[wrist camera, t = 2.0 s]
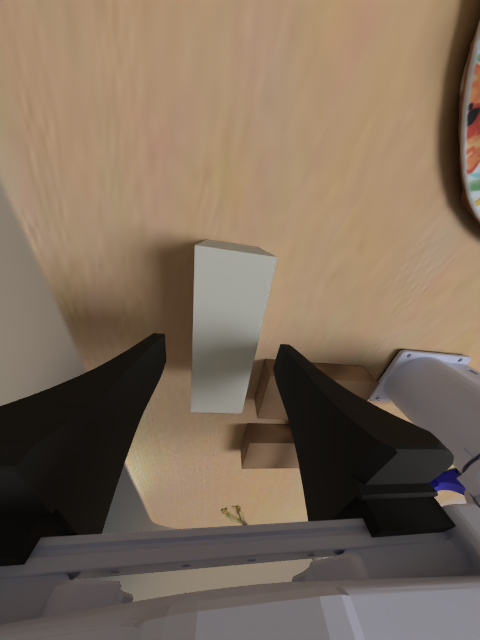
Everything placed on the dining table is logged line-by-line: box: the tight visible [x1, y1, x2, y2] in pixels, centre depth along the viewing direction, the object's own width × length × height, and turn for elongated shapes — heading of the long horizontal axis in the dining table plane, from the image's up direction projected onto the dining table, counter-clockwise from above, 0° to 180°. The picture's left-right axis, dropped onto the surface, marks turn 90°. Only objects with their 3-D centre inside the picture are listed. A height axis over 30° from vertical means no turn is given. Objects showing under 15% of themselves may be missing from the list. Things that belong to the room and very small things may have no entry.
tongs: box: [222, 506, 247, 525], centre depth 40 cm, size 4×13×2 cm, turn 22°
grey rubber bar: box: [191, 239, 277, 413], centre depth 14 cm, size 4×12×6 cm, turn 172°
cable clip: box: [429, 468, 466, 495], centre depth 36 cm, size 12×4×6 cm, turn 121°
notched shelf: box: [241, 359, 379, 469], centre depth 23 cm, size 12×18×2 cm, turn 171°
